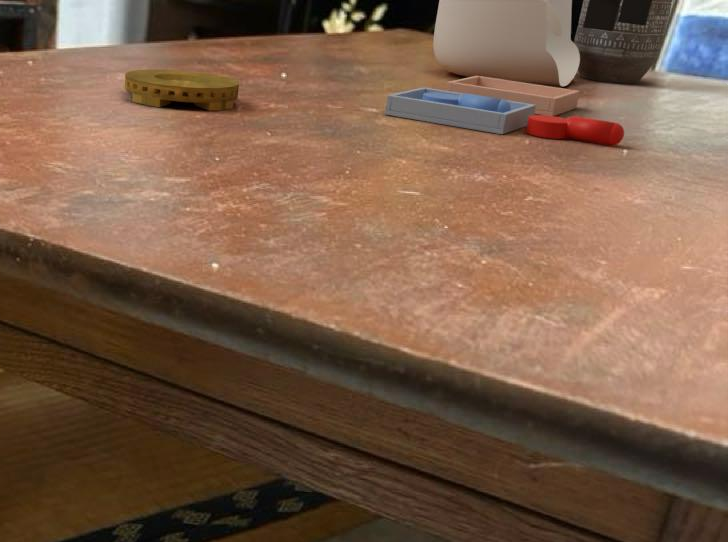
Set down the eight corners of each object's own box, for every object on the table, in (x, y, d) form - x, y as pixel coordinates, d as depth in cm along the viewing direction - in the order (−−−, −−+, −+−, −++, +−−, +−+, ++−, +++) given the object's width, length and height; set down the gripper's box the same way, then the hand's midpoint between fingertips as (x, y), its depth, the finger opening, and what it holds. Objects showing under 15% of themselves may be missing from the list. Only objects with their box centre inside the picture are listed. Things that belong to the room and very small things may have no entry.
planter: (643, 88, 158) (668, -10, 152) (558, 76, 163) (579, -20, 157) (657, 81, 167) (682, -12, 161) (576, 70, 172) (597, -21, 166)
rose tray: (576, 108, 135) (580, 90, 134) (552, 116, 127) (556, 98, 126) (472, 92, 141) (476, 75, 140) (444, 99, 133) (447, 81, 132)
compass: (230, 95, 123) (232, 74, 122) (243, 113, 113) (245, 91, 112) (123, 87, 122) (124, 66, 121) (125, 105, 112) (126, 82, 111)
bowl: (447, 63, 167) (462, -24, 161) (577, 80, 160) (597, -10, 154) (410, 75, 151) (426, -21, 145) (553, 95, 144) (575, -5, 138)
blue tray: (532, 124, 121) (536, 104, 120) (502, 134, 114) (506, 114, 113) (419, 105, 127) (422, 87, 126) (384, 114, 119) (387, 94, 118)
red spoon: (625, 144, 114) (631, 122, 113) (615, 149, 111) (621, 126, 110) (532, 129, 118) (537, 107, 117) (520, 133, 115) (524, 111, 114)
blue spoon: (514, 120, 119) (518, 98, 118) (501, 124, 116) (505, 102, 115) (429, 106, 124) (432, 85, 123) (414, 110, 120) (417, 88, 119)
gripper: (666, -217, 109) (608, 17, 120) (602, -256, 90) (541, 26, 101) (746, -214, 106) (680, 26, 116) (698, -254, 87) (624, 37, 97)
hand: (615, 26), depth 108 cm, fingers open, 13 cm apart
